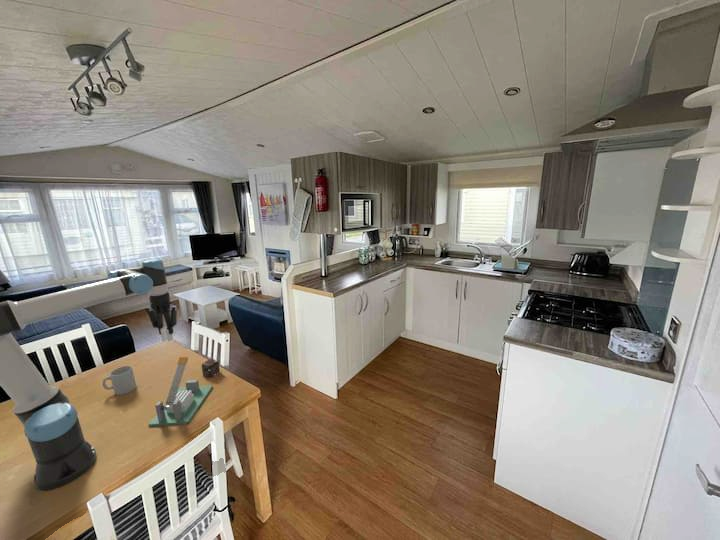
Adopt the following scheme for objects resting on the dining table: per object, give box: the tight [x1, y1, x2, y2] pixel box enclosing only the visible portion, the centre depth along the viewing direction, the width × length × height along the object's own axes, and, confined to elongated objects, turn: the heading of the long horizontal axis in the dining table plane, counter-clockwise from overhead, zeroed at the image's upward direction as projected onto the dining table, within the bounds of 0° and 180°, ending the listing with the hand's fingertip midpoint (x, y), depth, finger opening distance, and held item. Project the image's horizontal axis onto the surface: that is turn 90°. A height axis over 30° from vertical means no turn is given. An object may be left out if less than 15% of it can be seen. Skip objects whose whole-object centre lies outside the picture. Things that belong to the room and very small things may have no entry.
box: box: [201, 358, 221, 378], centre depth 151 cm, size 6×6×7 cm
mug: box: [102, 365, 137, 396], centre depth 138 cm, size 12×8×11 cm
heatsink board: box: [147, 379, 214, 427], centre depth 128 cm, size 24×16×10 cm, turn 4°
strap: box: [161, 356, 189, 410], centre depth 123 cm, size 22×5×2 cm
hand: (167, 340), depth 131 cm, fingers open, 2 cm apart
